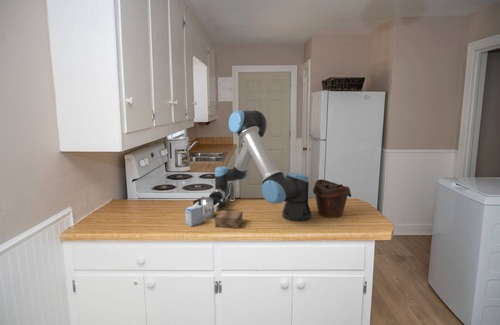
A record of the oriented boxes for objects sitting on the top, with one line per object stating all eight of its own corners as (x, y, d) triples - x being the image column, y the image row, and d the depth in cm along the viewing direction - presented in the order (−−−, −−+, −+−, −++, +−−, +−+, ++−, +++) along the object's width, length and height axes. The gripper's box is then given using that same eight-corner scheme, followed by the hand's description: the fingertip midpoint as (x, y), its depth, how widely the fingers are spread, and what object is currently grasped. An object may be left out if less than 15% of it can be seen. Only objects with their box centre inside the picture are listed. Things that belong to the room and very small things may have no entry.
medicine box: (197, 220, 176) (197, 204, 175) (203, 222, 173) (203, 206, 172) (185, 224, 170) (184, 208, 169) (191, 227, 167) (191, 209, 166)
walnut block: (242, 221, 176) (242, 211, 175) (237, 228, 165) (237, 218, 164) (221, 219, 178) (221, 210, 177) (215, 227, 167) (215, 217, 166)
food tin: (215, 215, 184) (214, 197, 183) (211, 219, 178) (211, 200, 176) (203, 214, 186) (202, 196, 184) (199, 218, 179) (198, 200, 177)
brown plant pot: (351, 220, 176) (353, 186, 173) (311, 218, 180) (312, 184, 177) (348, 210, 193) (350, 179, 191) (312, 208, 197) (313, 178, 195)
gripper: (236, 204, 197) (226, 216, 175) (198, 202, 201) (183, 214, 180) (236, 191, 195) (226, 202, 174) (197, 189, 200) (183, 200, 178)
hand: (204, 208), depth 177 cm, fingers open, 10 cm apart
